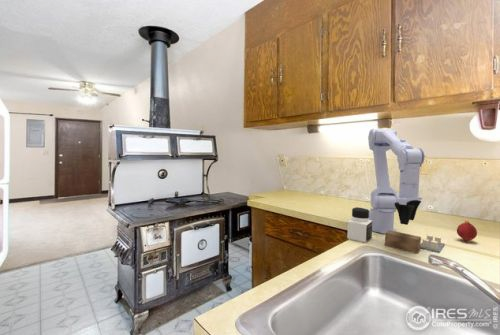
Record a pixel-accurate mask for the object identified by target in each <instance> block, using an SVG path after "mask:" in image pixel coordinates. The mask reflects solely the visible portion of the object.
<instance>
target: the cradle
mask: <svg viewBox="0 0 500 335" xmlns="http://www.w3.org/2000/svg"><path fill="white" fill-rule="evenodd" d="M445 245H446V244H445V243H443V242H442V236H434V235H432V234H427V235H426V238H423V239H422V242H421V245H420V250H426V251H430V252H433V253H437V254H440V253H441V251H442V250H443V248H444V247H445Z"/></svg>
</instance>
